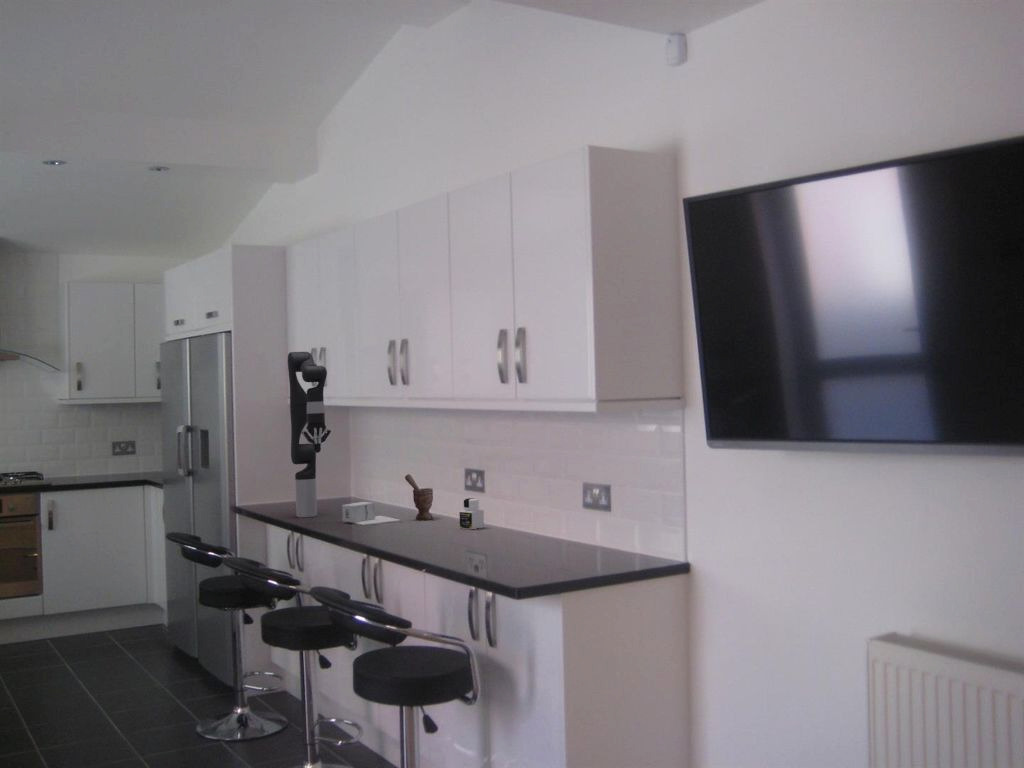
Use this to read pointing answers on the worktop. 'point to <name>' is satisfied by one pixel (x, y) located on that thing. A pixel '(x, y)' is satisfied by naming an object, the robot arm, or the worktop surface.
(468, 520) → the medicine bottle
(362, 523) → the mat
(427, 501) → the mortar and pestle
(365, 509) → the supplement box
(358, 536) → the worktop surface
